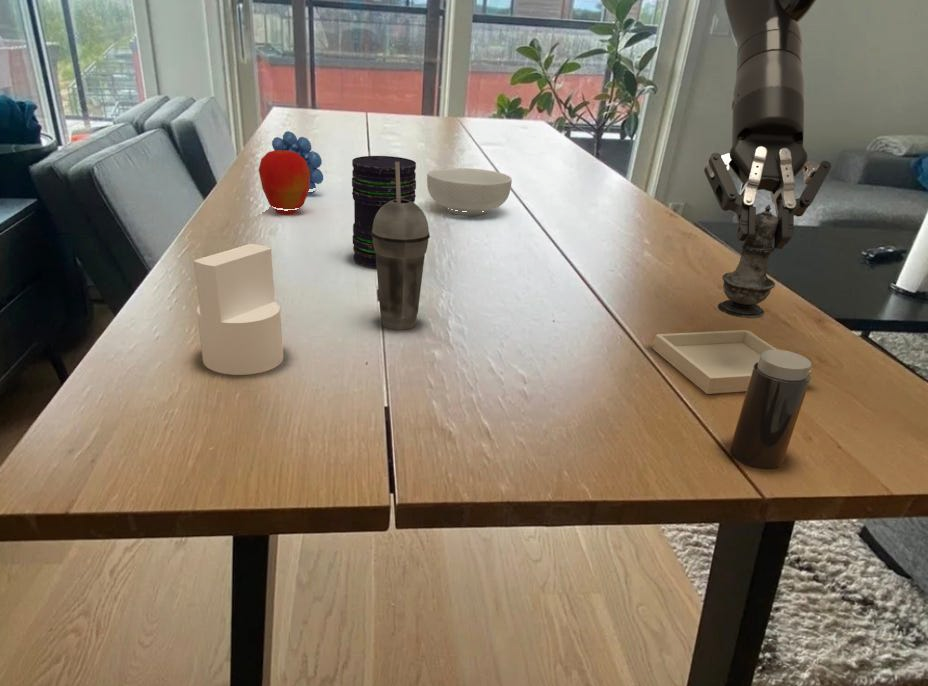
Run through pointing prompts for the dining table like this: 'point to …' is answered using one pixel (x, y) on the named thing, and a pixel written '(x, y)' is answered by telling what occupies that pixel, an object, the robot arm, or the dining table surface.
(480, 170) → the cereal bowl
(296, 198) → the apple
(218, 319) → the cylinder with rectangular tab
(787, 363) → the black pepper shaker
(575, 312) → the dining table surface
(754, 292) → the salt shaker
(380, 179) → the storage jar
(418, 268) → the beverage cup
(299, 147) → the grapes
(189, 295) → the dining table surface
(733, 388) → the ivory tray
